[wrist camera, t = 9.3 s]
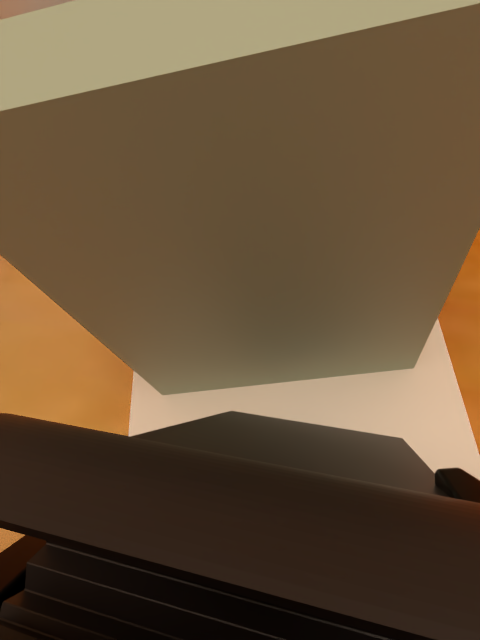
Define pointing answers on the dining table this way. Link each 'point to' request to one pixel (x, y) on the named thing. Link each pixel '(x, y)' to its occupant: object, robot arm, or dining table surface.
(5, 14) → the bookshelf
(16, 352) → the dining table surface
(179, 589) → the phone stand
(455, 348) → the dining table surface
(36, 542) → the robot arm
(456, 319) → the dining table surface
